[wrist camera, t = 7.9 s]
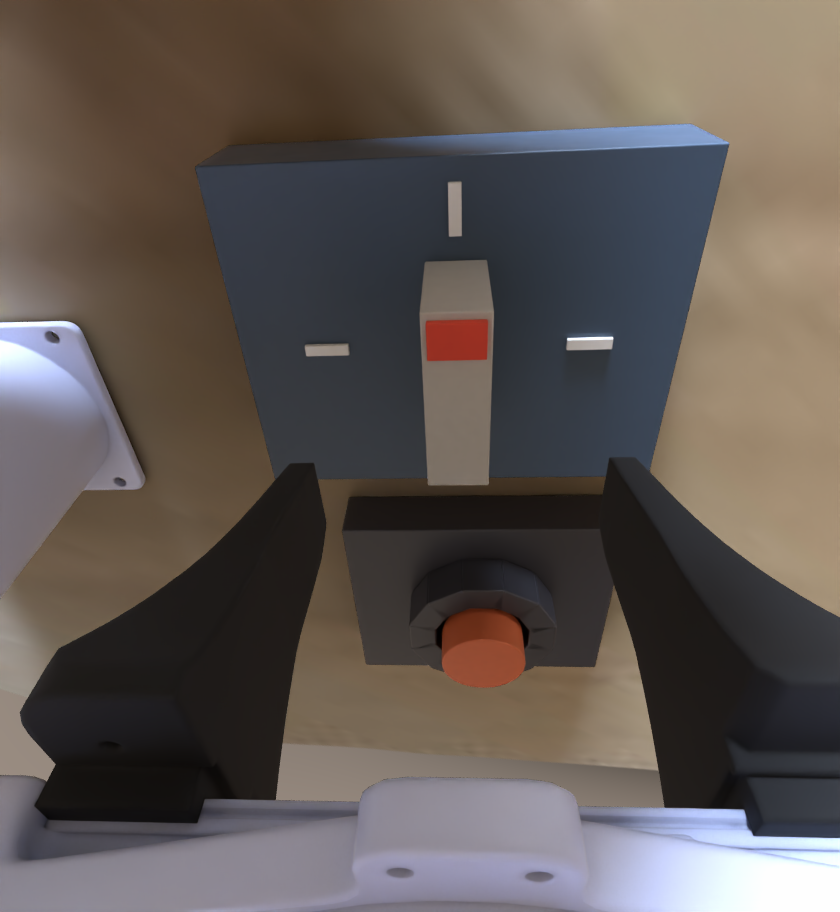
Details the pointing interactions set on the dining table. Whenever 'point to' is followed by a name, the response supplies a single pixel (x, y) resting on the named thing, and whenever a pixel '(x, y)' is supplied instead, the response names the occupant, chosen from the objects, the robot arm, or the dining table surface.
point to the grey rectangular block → (457, 370)
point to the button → (482, 647)
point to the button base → (478, 573)
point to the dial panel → (511, 279)
